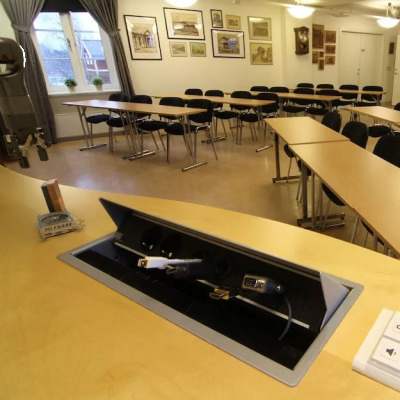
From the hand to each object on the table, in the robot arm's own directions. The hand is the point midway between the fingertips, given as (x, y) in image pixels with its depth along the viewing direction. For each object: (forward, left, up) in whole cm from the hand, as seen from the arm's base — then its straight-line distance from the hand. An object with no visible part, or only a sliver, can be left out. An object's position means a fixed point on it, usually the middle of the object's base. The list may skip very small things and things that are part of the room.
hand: (35, 164), depth 101 cm
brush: (-1, +14, -23) cm, 27 cm away
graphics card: (+1, +2, -23) cm, 23 cm away
